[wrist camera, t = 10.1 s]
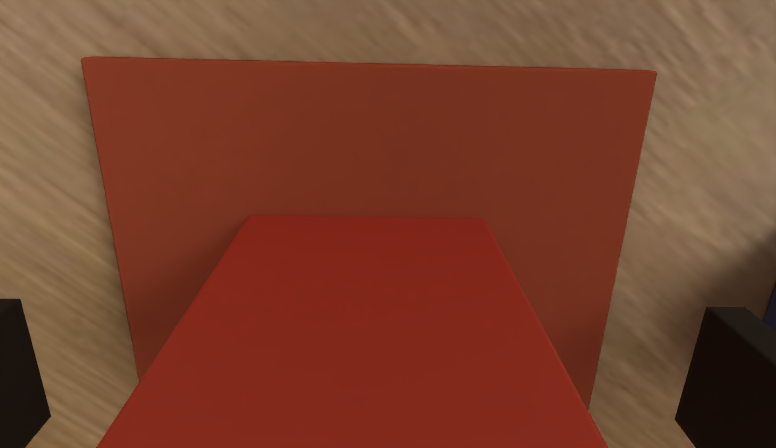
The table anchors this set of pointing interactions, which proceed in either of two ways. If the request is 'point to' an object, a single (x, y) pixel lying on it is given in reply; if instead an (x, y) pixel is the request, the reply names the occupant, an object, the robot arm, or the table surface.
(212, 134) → the red mat
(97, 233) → the table surface
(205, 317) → the red block
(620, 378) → the table surface
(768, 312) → the blue block
